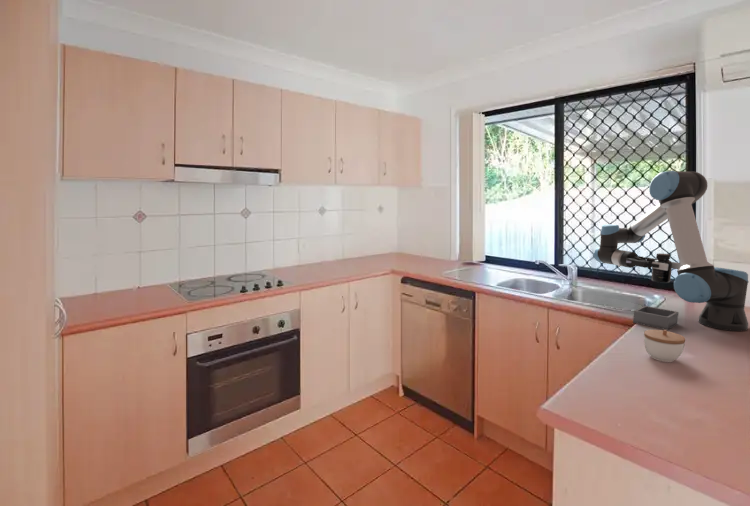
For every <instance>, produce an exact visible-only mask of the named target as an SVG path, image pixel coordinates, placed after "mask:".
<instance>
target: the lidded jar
mask: <svg viewBox="0 0 750 506" xmlns="http://www.w3.org/2000/svg"><path fill="white" fill-rule="evenodd" d="M643 335H644V336H643V337H644V339H643V342H644V343H643V345H644V348H645V351H646V353H648V355H649V356H650V357H651V358H652V359H654V360H655V361H656V360H657V361H659V362H665V363H672V362H674V361H675V360H677V359H678V358H680V356H682V354H683V351H684V348H685V343H686V338H685V336H683V335H682V334H679V333H677V332H672V331H669V330H665V329H661V330H660V329H647V330H645V331H644V334H643Z"/></svg>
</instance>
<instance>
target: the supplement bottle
mask: <svg viewBox="0 0 750 506" xmlns="http://www.w3.org/2000/svg"><path fill="white" fill-rule="evenodd" d="M655 259H656V260H654V261H653V262H658V263H664V264H669V265H668V271H666V270H660V269H655V268H652V267H651V281H652V282H656V283H662V284H663V283H666V284H667V283H670V282H671V279H672V278H671V277H672V270H673V268H672V262H673V261H671V260H670V259H671V254H669V253H662V252H661V253H656V256H655Z"/></svg>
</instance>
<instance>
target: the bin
mask: <svg viewBox="0 0 750 506" xmlns="http://www.w3.org/2000/svg"><path fill="white" fill-rule="evenodd" d="M678 319H679V311H676V310H675V311H674V310H669V309H665V308H658V307H655V306H647V305H644V306H641V307H639V308H637V309H635V310H634V311H633V320H632V323H633V324H638V325H641V326H648V327H652V328H657V329H661V330H667V331H669V330H670V329H671V328H673V327H675V326H676V325H678V321H679V320H678Z"/></svg>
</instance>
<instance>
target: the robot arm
mask: <svg viewBox="0 0 750 506" xmlns="http://www.w3.org/2000/svg"><path fill="white" fill-rule="evenodd" d="M648 188H649V190H648V191H649V195H650V196H651V198H653V199H654V200H657V201H658V204H656V205H655V206H654V207H652V209H650V210H649V211H648V212H646V213H645V214H644V215H643V216H641V217H640V218H639V219H637V220H636V221H634V222H633V223H632V224H630V225H629V226H628V227H620V225H619V224H613V223H611V224H610V223H609V224H608V223H607V224H606V223H605V224H603V225H601V229H600V230H601V231H600V243H599V244H600V245H599V247H597V248H595V250H594V252H593V258H594V260H595V261H596V262H598V263H599V262H600V263H603V264H608V265H614V266H617V267H618V268H621V267H625V268H630V269H631V268H634V267H639V268H640V267H641V268H644V269H646V268H647V270H652V268H655V269H660V270H666V271H668V265H669V264H664V263H658V262H653V261H654V260H656V259H657V258H653V257H647V256H646V257H644V256H638V254H637V253H636V252H635V251H628V250H623V249H618V245H619V244H637V243H641V242H643V241H644V239H645V238H646V235H647V234H648V233H650V232H651V231H652V230H654V229H655V228H657V227H658V226H659V225H661V224H662V223H663V222H665V221H666V220H667V221H668V223H669V227H670V230H671V234H672V238H673V242H674V246H675V250H676V254H677V257H678V261H679V262H676V261H671V262H672V270H673V269H674V270H676V272H677V276H676V277H675V278H674V281H673V289H674V291H675V293H676V295H677V296H678V297H679V298H680V299H682V300H683V301H686V302H687V303H692V304H693V303H697V304H701V303H705V305H704V307H703V309H702V311H701V312H700V314H699V317H698V323H699V324H701V325H704V326H706V327H708V328H714V329H718V330H724V331H732V332H742V331H741V330H745V331H747V330H748V329H749V322H748V318H747V314H746V311H745V307H746V306H745V305H746V299H747V291H748V286H749V285H748V284H749V274H748V272H747V271H746V272H745V271H743V270H739V269H730V268H724V267H719V266H718V267H717V266H715V265H714V264H712V263H710V262H708V260H707V255H706V251H705V248H704V244H703V241H702V237H701V234H700V230H699V226H698V223H697V219H696V217H695V211H694V209H693V205H694V204H695V203H696V202H697V201H699V200H700V199H701V198H702V197H703V196H704V195H705V194H706V192H707V190H708V180H707V178H706V176H704V175H703V174H702V173H699V172H697V171H691V170H690V171H689V170H687V171H685V170H684V171H679V170H677V171H676V170H668V171H661V172H659V173H658V174H656V175H655V176H654V177H653V178H652V180H651V182H650V183H649V187H648ZM746 329H747V330H746Z"/></svg>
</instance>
